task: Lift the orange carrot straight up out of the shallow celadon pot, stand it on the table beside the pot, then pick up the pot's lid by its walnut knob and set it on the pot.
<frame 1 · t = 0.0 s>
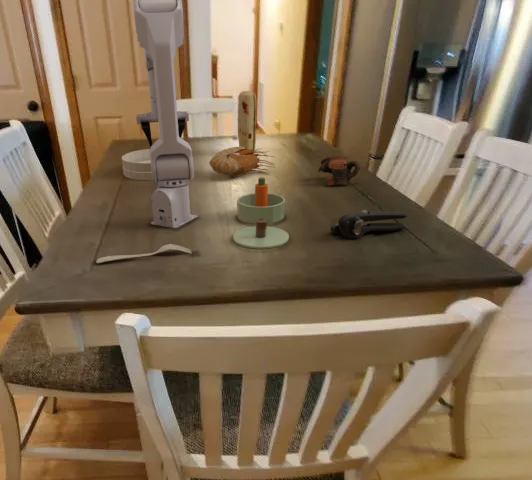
hand: (165, 148, 135), 11 cm above the table, tool pointing down, fingers open, 7 cm apart
food model: (246, 153, 174), on the table
pot: (260, 217, 115), on the table
nautilus: (242, 175, 149), on the table
carrot: (260, 216, 115), resting on pot
dish: (156, 172, 156), on the table
pottery mug: (337, 182, 138), on the table
lid: (260, 238, 103), point 1 cm above the table
can opener: (369, 234, 104), on the table
fork: (146, 258, 98), on the table
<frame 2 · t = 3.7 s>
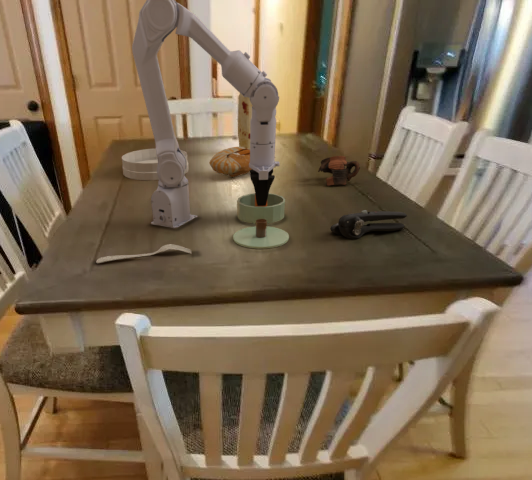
hand: (261, 203, 113), 4 cm above the table, tool pointing down, fingers closed on carrot, 3 cm apart
carrot: (260, 216, 115), resting on pot, touching gripper
everything else where it was.
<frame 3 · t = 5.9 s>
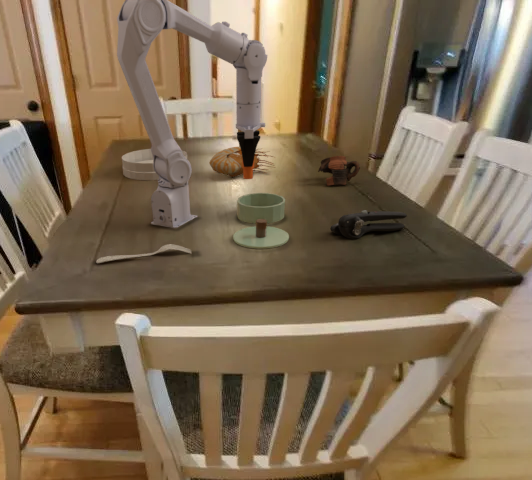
hand: (248, 164, 117), 10 cm above the table, tool pointing down, fingers closed on carrot, 3 cm apart
carrot: (248, 178, 119), point 7 cm above the table, touching gripper
everything else where it was.
when the fingers open (3 cm above the table, at t = 8.1 s): carrot stays where it is, on the table.
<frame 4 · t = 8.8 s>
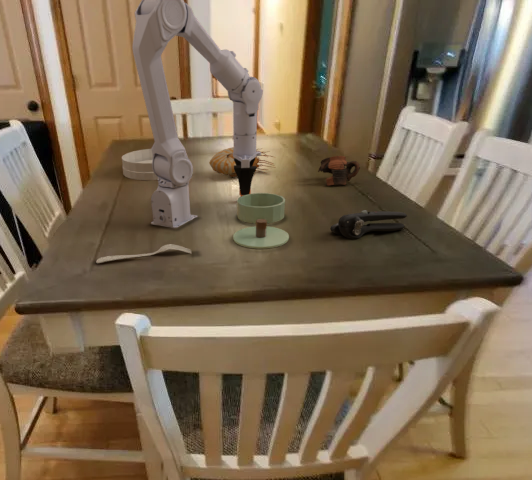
hand: (244, 190, 123), 4 cm above the table, tool pointing down, fingers open, 7 cm apart
carrot: (244, 203, 125), on the table
everything else where it was.
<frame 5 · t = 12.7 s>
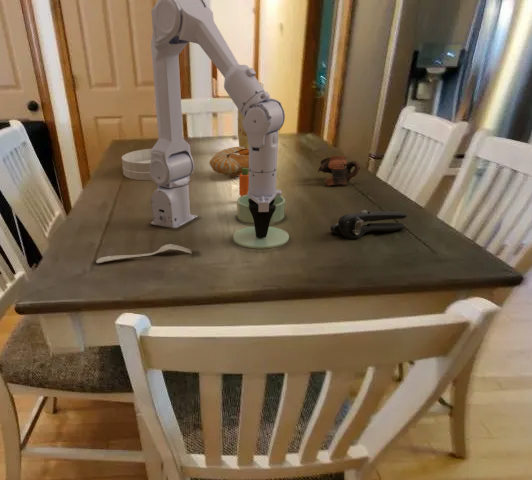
hand: (260, 234, 103), 1 cm above the table, tool pointing down, fingers closed on lid, 2 cm apart
lid: (260, 238, 103), point 1 cm above the table, touching gripper
everything else where it was.
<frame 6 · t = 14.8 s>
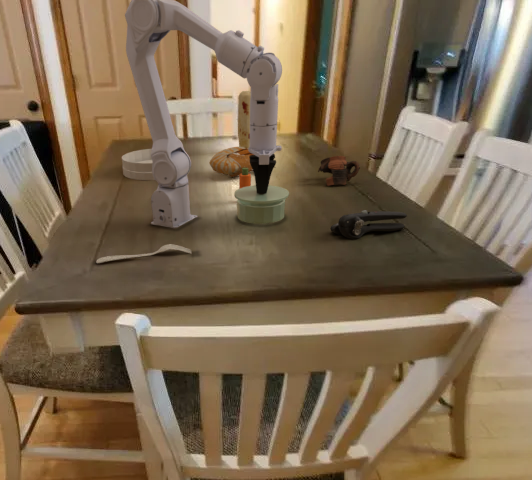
hand: (261, 191, 105), 8 cm above the table, tool pointing down, fingers closed on lid, 2 cm apart
lid: (261, 194, 105), point 8 cm above the table, touching gripper
everything else where it was.
when the fingers open (5 cm above the table, at t = 16.8 s): lid stays where it is, resting on pot.
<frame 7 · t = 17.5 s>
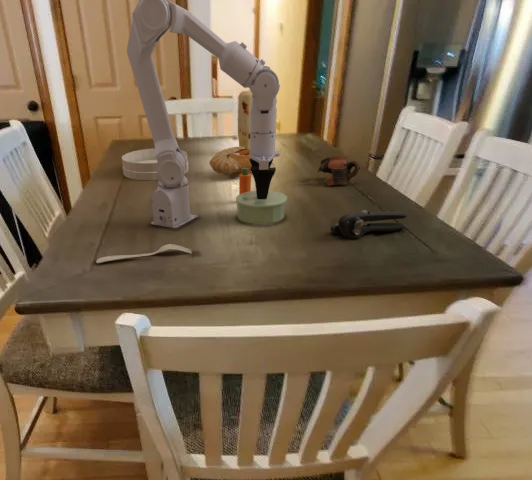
hand: (261, 194, 112), 6 cm above the table, tool pointing down, fingers open, 7 cm apart
lid: (261, 199, 113), point 4 cm above the table, touching pot
everything else where it was.
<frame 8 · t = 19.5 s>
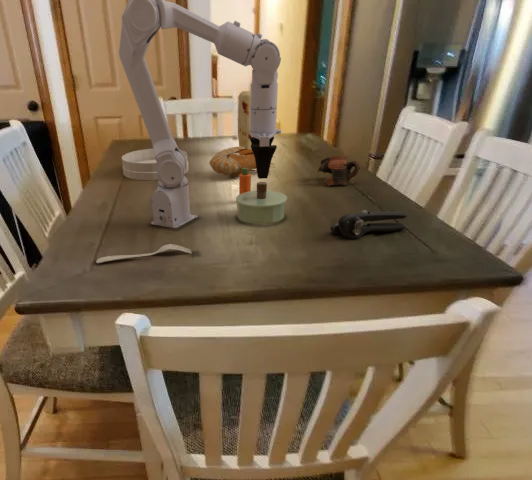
hand: (261, 173, 109), 10 cm above the table, tool pointing down, fingers open, 7 cm apart
nothing on the table moved.
at the end: carrot inside the target area (0.1 cm from its centre), on the table; lid 0.0 cm off-centre on the pot, point 4.4 cm above the pot's base; lid tilted 0° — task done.
